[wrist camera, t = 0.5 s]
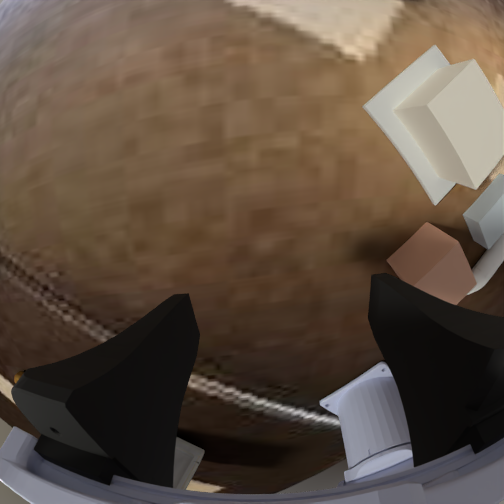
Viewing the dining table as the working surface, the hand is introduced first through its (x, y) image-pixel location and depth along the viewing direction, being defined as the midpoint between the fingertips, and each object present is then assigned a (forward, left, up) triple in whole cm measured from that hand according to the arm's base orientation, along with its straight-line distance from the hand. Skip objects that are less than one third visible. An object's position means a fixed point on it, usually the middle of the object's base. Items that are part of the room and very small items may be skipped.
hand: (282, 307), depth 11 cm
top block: (-10, -7, -9) cm, 15 cm away
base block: (-2, -15, -9) cm, 17 cm away
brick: (-11, -15, -10) cm, 21 cm away
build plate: (-2, -15, -9) cm, 18 cm away
